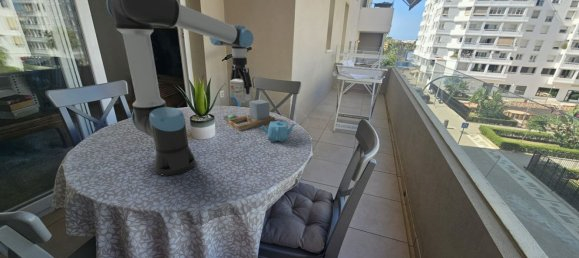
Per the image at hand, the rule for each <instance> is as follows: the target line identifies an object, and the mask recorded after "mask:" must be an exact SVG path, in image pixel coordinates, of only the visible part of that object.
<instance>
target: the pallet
mask: <svg viewBox="0 0 579 258" xmlns="http://www.w3.org/2000/svg"><path fill="white" fill-rule="evenodd" d="M245 121H246V122H247V123H243V124H237V123H242V122H245ZM270 122H276V117H275V116H272V115H270V114H269V118H266V119H262V120H258V121H256V120H254V119H252V118H250V114H247V115H243V116H238V117H237V118H233V119H228V120H227V121H226V124H227V125H228V126H230V127H232V128H233V129H235V130H237V131H239V132H240V131H245V130H248V129H251V128H255V127H256V128H257V127H260V126H265V125H267V124H270Z"/></svg>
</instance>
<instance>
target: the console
mask: <svg viewBox="0 0 579 258" xmlns="http://www.w3.org/2000/svg"><path fill="white" fill-rule="evenodd" d="M232 115H235V114H234V113H233V114H232ZM237 117H239V116H238V115H235V118H237ZM228 119H233V118H228V115H225V116H223V120H224V121H225V122H227V120H228Z"/></svg>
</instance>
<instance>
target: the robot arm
mask: <svg viewBox="0 0 579 258" xmlns="http://www.w3.org/2000/svg"><path fill="white" fill-rule="evenodd" d="M105 3H106V9H107V11H108V13H109V15H110V16H111V17H112V19H113V20H114V24H115V28H116V31H117V32H119V33H121V35H122V37H123V43H124V48H125V52H126V58H127V62H128V68H129V71H130V72H129V74H130V76H131V82H132V86H133V91H134V96H135V101H134V102H133V103H132V108H133V109H132V112H131V116H130V117H131V122H132V124H133V126H134V127H135V128H136V129H137V130H139V131H140V132H141V133H144V134H146V135H147V136H149V137H151V138H153V142H154V147H155V158H154V163H153V168H154V172H155V171H156V172H157V173H159V174H158V175H160V174H163V175H162V176H164V175H172V176H175V175H174V174H178V175H180V174H179V173H181V174H184V173H186V171H187V172H189V171H190V170H191V169H193V168H194V167H195V166H196V158H195V155H194V153H193V152H192V149H191V148H190V146H189V141H188V131H187V127H186V126H187V125H186V124H187V123H186V118H185V114H184V113H183V111H182V110H180V109H179V108H176V107H170V106H169V107H168V106H167V105H166V100H164V99H163V98H162V97H161V94H160V92H161V91H160V88H159V82H158V81H159V80H158V76H157V70H156V63H155V58H154V51H153V46H152V44H153V43H152V40H151V35H152V34H153V32H154V30H155V29H154V25H156V26H164V27H167V28H170V29H172V28H175V27H177V28H181V29H182V30H186V31H189V32H192V33H196V34H198V35H202V36H205V37H208V38H209V41H210V43H211V44H212V45H213V46H219V47H220V46H222V47H223V46H227V47H231V56H232V59H231V60H232V65H231V74H230V80H233V79H238V78H240V77H241V79H242V80H243V81H244V86H245V87H244V96H245V100H249V99H250V95H249V93H250V91H249V88H250V87H251V88H252V87H253V85H252V80H251V76H250V68H246V66H247V64H248V60H247V55H248V54H247V48H249V47H251V46H252V45H253V43H254V34H253V33H252V31H251V30H250V29H246V26H245V25H241V24H240V25H239V24H238V25H237V24H229V23H227V22H224V21H222V20H219V19H218V18H216V17H215V18H214V17H212V16H211V15H207V14H205V13H202V12H200V11H197V10H195V9H192V8H191V7H187V6H185V5H183V4H181V3H179V1H178V0H106V2H105ZM246 85H247V86H246ZM249 101H250V100H249ZM194 165H195V166H194ZM156 172H155V173H156ZM183 172H184V173H183ZM157 173H156V174H157Z"/></svg>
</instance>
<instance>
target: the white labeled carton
mask: <svg viewBox="0 0 579 258" xmlns="http://www.w3.org/2000/svg"><path fill="white" fill-rule="evenodd" d="M246 86H247V85H246ZM244 87H245V86H244V81H243V80H242V78H240V77H239V78H238V79H233V80H231V79H230V80H229V91H230V92H229V93H230V102H233V103H241V104H245V103H246V102H250V101H252V94H251V92H252V91H251V90H252V89H251V88H252V87H250V88H249V91H250V93H249V95H250V99H249V100H245V96H244Z"/></svg>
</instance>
